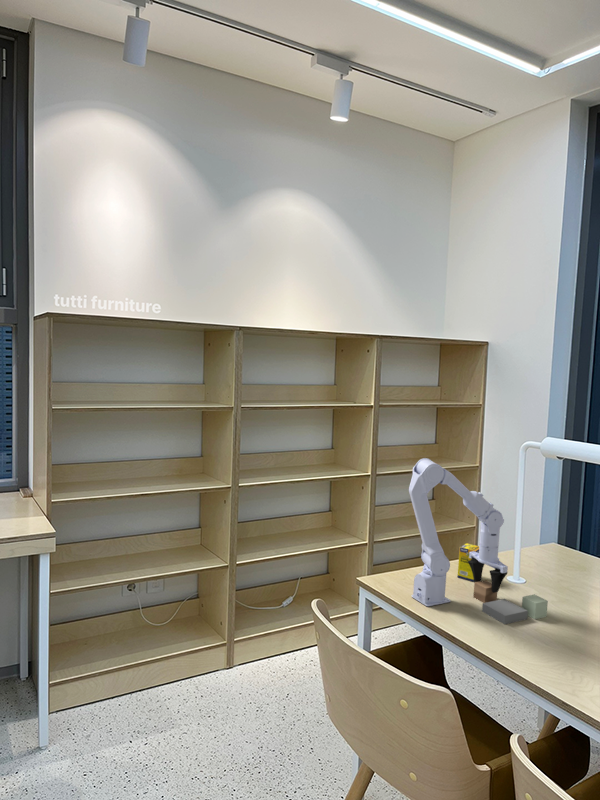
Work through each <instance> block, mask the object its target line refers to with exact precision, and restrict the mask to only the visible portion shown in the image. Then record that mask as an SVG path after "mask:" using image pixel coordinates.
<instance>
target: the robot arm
mask: <svg viewBox="0 0 600 800" xmlns="http://www.w3.org/2000/svg"><path fill="white" fill-rule="evenodd" d="M438 484H440V485H446V486H448V487H449V488H450V489H452V491H453V492H454V493H456V494H457V495H458V496H460V497H461V498H462V503H463V506H465V507H466V508H467V509H468V510H469V511H470V512H472V514H473V515H474V516H475V517H477V518H478V520H479V521H480V534H479V545H478V546H479V553H477V552H475V551H472V552H469V558H471V560H469V561H468V563H469V565H470V567H471V570H472V573H473V578H474V582H479V581H482V578H483V570H484V567H485V566H486V565H487V566H489V567H491V568H493V569H492V570H489V575H490V581H491V583H492V592H493V593H495V592H497V593H499V591H500V587H501V585H502V582H503V581H504V579H505V578H506V576H507V574H508V567H509V566H507V565H506V564H504V563H503V562H502V561H501V560H500V558H499V545H500V529H501V527H502V526H503V525H504V524H505V519H504V517H503V514H502V512H501V511H499V510H497V508H495V507H494V504H493V503H491V502H488V501H487V499H485V498H484V497H483V496H484V494H483V493H482V492H480V491H476V490H470V489H468V488H467V487H466V486H465V485H464V484H463V482H461V481H460V480H459V479H458V478H457V477H456V476H455V475H454V474H453V473H451V471H449V470H448V469H446V468H444V467H442V466H441V465H440V464H438V463H436V462H434V461H432V460H431V459H430V458H428V457H427V458H426V457H423V458H420V459H419V460H418V461H417V462H416V463H415V465H414V466H413V467H412V475H411V480H410V483H409V487H408V493H409V496H410V500H411V504H412V508H413V511H414V517H415V519H416V524H417V527H418V531H419V534H420V538H421V541H422V543H421V546H420V547H421V554H420V556H421V557H420V558H421V561H422V562H423V568H422V571H421V572H419V573H417V574H416V575H415V576H414V579H413V589H412V590H413V591H412V594H411V597H412V598H413V599H415V601H417V602H419V603H421V605H424V606H426V607H432V606H437V605H441V604H447V603H451V602H452V600H451V599H449V598H448V597H446V585H447V573H448V572H449V571H450V568H451V562H450V560H449V558H448V557H447V556H446V555H445V552H444V549H443V547H442V545H441V543H440V541H439V536H438V532H437V528H436V524H435V520H434V517H433V513H432V509H431V505H430V502H429V499H428V494H429V492H430V491H431V490H432V489H433V488H435V487H436V486H437V485H438ZM474 582H473V583H474Z"/></svg>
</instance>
